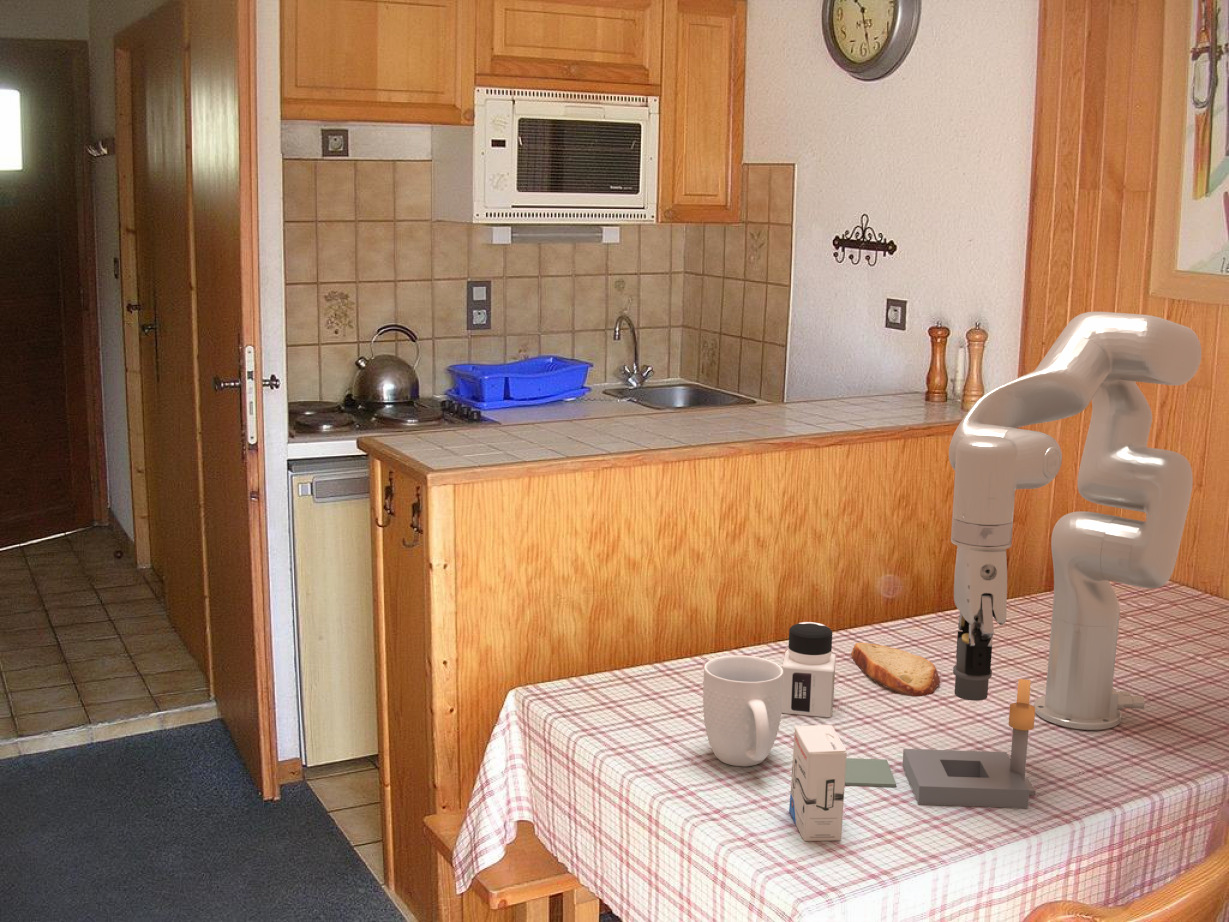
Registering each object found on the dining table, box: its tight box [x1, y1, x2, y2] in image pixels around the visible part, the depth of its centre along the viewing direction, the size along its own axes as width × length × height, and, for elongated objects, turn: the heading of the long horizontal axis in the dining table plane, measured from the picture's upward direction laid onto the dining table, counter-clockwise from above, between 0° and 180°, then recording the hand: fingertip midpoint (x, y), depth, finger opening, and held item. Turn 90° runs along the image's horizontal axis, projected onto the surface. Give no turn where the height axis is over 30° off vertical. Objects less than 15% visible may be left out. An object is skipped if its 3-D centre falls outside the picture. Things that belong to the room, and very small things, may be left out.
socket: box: [902, 728, 1037, 809], centre depth 174 cm, size 16×12×8 cm
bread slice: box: [850, 642, 941, 698], centre depth 218 cm, size 18×18×4 cm
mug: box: [702, 654, 783, 767], centre depth 180 cm, size 15×11×13 cm
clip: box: [1008, 678, 1036, 731], centre depth 177 cm, size 13×3×3 cm, turn 162°
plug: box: [952, 633, 993, 702], centre depth 172 cm, size 5×5×8 cm
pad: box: [845, 757, 897, 788], centre depth 179 cm, size 8×8×1 cm
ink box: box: [788, 724, 848, 842], centre depth 162 cm, size 9×5×12 cm, turn 5°
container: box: [781, 621, 837, 718], centre depth 201 cm, size 8×8×13 cm
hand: (972, 665), depth 172 cm, fingers closed on plug, 4 cm apart
